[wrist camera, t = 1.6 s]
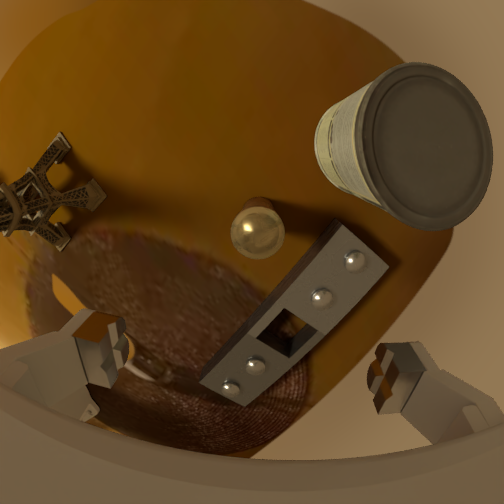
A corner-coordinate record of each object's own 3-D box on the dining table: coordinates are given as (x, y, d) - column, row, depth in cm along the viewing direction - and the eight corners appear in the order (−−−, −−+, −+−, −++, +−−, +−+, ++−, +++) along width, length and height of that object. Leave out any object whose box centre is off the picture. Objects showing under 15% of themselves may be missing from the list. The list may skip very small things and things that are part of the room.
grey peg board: (245, 391, 37) (244, 409, 34) (202, 367, 36) (198, 386, 33) (379, 256, 30) (391, 269, 27) (335, 217, 29) (344, 226, 26)
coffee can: (380, 85, 24) (457, 49, 11) (418, 173, 27) (506, 194, 14) (294, 120, 26) (324, 90, 13) (339, 212, 29) (397, 260, 16)
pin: (262, 239, 30) (262, 268, 23) (230, 216, 30) (220, 238, 22) (286, 208, 29) (295, 229, 22) (254, 184, 28) (252, 195, 21)
